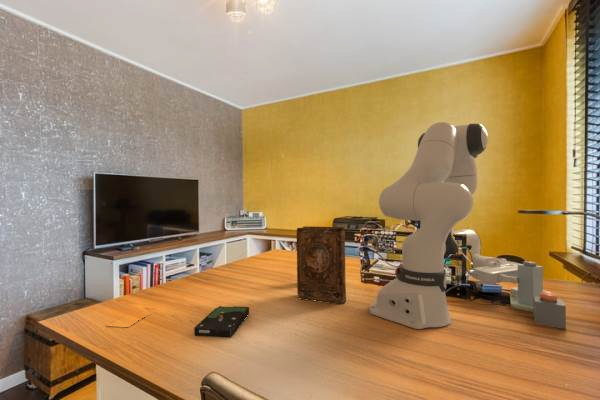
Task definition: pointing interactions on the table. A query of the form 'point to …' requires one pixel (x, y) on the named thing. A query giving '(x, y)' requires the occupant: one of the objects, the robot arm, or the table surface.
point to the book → (321, 264)
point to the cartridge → (529, 282)
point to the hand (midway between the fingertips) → (528, 279)
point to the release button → (548, 297)
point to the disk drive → (222, 322)
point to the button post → (549, 312)
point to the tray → (519, 304)
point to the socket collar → (515, 291)
